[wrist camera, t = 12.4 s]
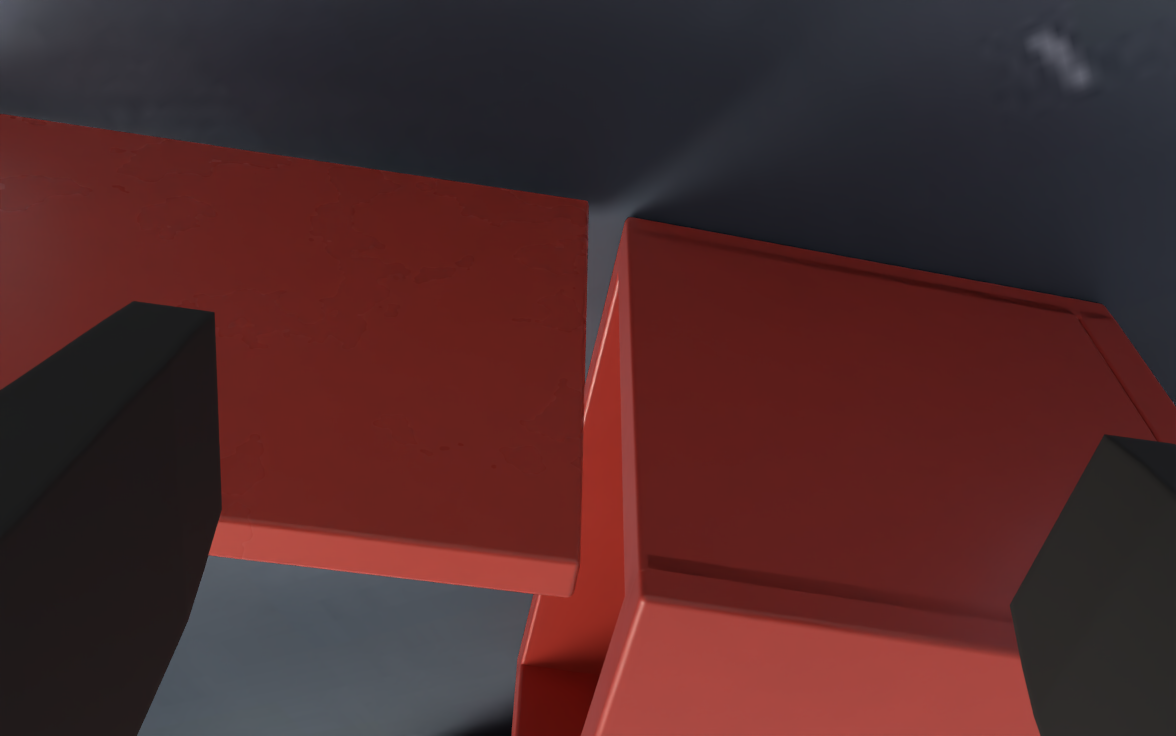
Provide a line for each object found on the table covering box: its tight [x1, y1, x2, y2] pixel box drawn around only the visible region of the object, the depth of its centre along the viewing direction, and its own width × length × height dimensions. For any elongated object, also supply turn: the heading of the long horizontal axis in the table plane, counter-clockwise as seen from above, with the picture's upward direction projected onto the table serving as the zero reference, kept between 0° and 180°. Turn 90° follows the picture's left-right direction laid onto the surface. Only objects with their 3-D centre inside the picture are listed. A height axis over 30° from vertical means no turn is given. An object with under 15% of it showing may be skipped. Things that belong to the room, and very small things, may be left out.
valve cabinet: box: [511, 217, 1176, 736], centre depth 20 cm, size 12×9×9 cm
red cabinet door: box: [0, 114, 589, 598], centre depth 14 cm, size 12×6×9 cm, turn 81°
